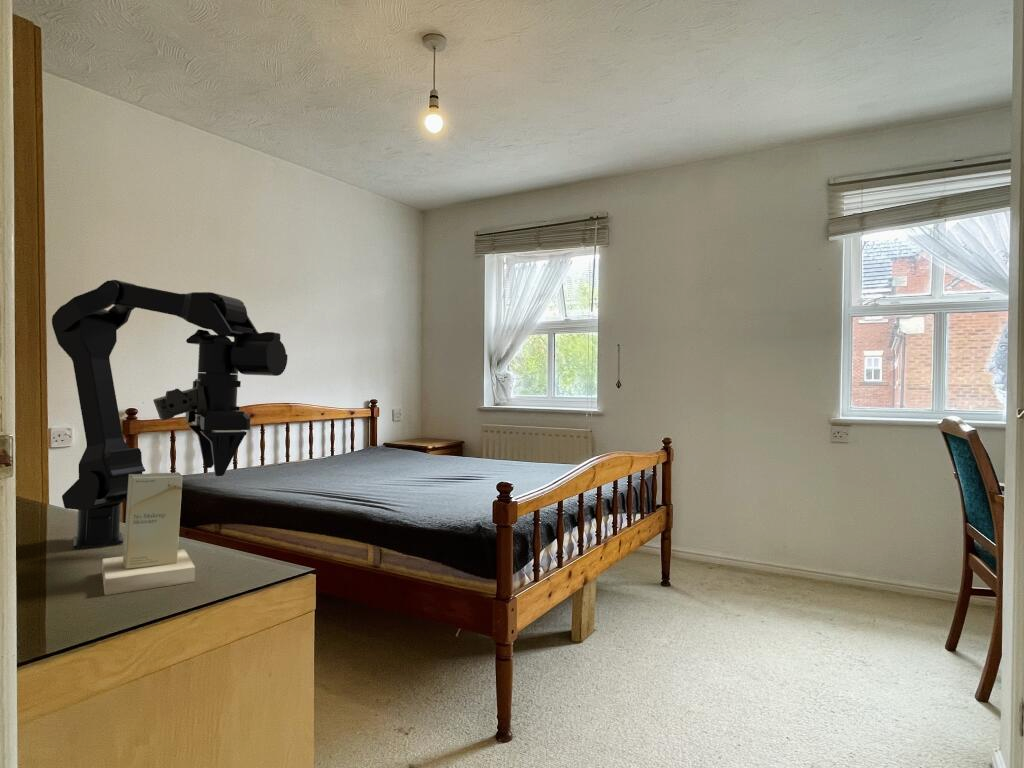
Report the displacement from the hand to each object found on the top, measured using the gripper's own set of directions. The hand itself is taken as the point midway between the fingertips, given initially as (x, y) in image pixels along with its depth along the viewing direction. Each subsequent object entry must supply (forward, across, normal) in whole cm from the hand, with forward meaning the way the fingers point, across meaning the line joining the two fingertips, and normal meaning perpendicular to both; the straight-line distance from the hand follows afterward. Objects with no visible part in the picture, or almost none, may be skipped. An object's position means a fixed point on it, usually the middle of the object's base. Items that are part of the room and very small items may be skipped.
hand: (213, 471), depth 91 cm
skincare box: (+11, +8, -9) cm, 16 cm away
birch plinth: (+13, +8, -9) cm, 18 cm away
